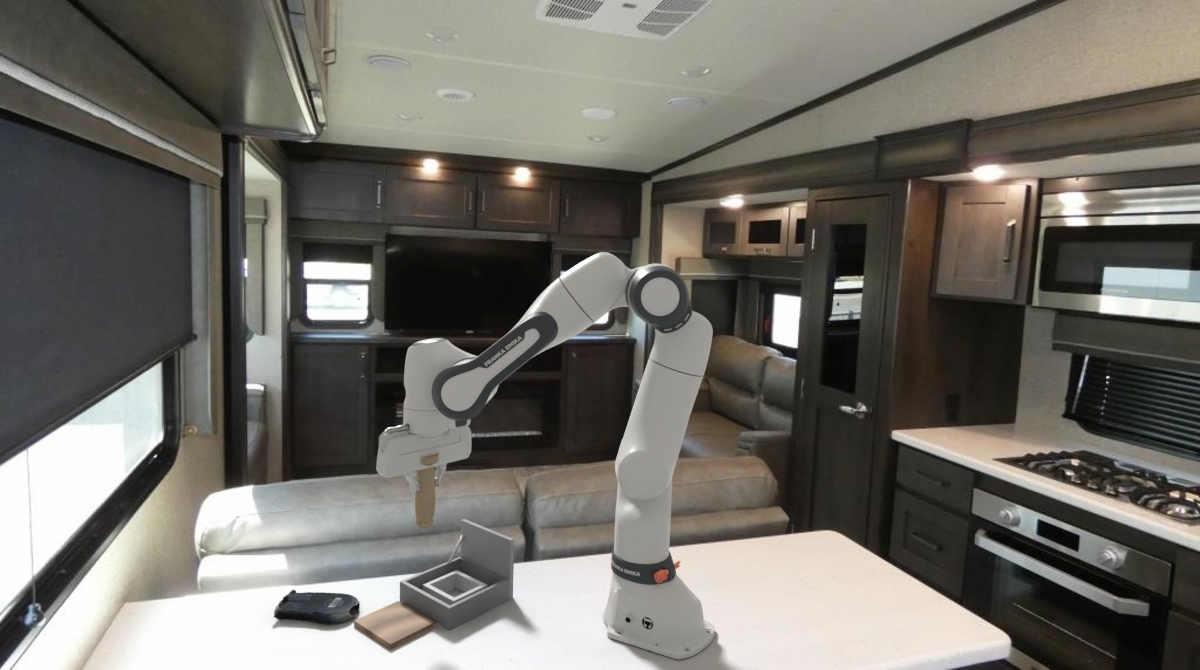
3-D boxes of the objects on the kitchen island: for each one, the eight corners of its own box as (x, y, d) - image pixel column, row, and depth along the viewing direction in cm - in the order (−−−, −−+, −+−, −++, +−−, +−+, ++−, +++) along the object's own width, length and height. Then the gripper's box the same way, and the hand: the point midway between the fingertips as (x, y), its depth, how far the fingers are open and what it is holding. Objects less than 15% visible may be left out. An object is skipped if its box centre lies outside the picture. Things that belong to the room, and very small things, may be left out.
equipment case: (512, 597, 141) (514, 539, 139) (449, 630, 127) (449, 566, 126) (463, 573, 150) (464, 518, 149) (399, 602, 137) (399, 542, 136)
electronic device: (272, 633, 127) (349, 625, 127) (269, 604, 128) (346, 596, 127) (295, 614, 137) (367, 607, 136) (293, 587, 137) (364, 580, 137)
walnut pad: (435, 626, 128) (435, 622, 128) (390, 649, 121) (390, 644, 120) (398, 605, 136) (398, 600, 136) (354, 625, 128) (354, 620, 128)
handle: (408, 532, 128) (409, 457, 127) (416, 519, 135) (418, 447, 133) (433, 533, 128) (435, 458, 127) (440, 520, 135) (442, 448, 133)
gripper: (389, 432, 119) (388, 506, 121) (477, 415, 135) (475, 481, 137) (369, 425, 123) (369, 497, 125) (457, 410, 139) (455, 473, 140)
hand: (425, 488), depth 131 cm, fingers closed on handle, 3 cm apart
